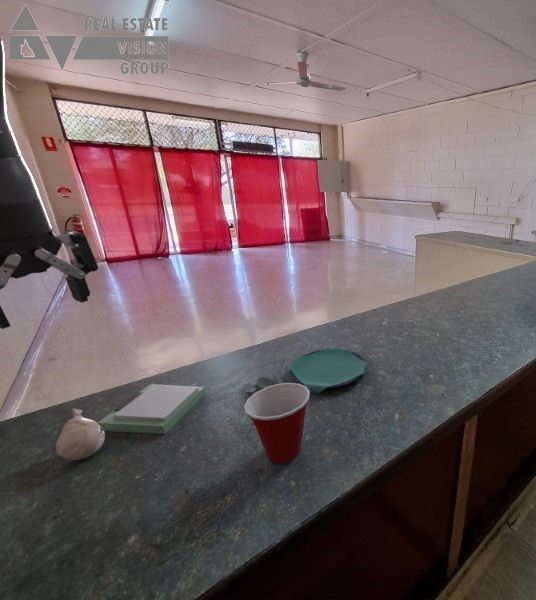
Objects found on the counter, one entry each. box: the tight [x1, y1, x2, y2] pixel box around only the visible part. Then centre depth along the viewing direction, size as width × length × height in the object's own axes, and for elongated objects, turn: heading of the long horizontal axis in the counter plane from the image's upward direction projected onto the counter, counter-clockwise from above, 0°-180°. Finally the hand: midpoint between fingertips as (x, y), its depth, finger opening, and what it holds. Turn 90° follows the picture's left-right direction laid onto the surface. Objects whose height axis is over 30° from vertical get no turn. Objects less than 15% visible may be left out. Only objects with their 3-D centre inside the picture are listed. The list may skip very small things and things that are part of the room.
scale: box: [97, 384, 207, 435], centre depth 68 cm, size 13×13×3 cm
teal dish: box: [242, 347, 369, 397], centre depth 81 cm, size 20×30×2 cm, turn 130°
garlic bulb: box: [55, 408, 106, 461], centre depth 56 cm, size 7×6×8 cm
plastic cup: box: [243, 382, 311, 465], centre depth 57 cm, size 11×11×12 cm
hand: (45, 312), depth 45 cm, fingers open, 8 cm apart
